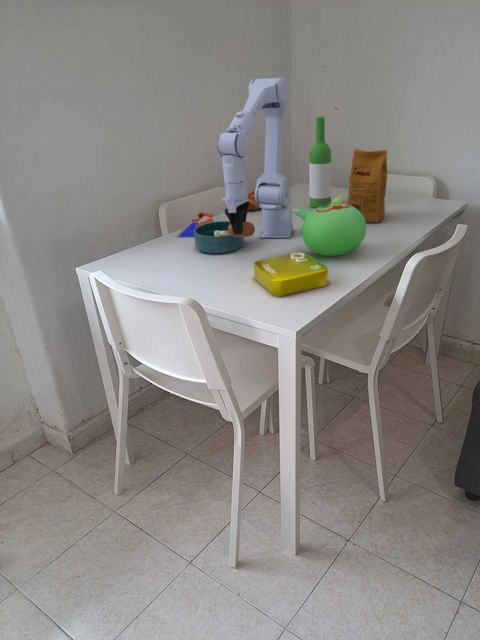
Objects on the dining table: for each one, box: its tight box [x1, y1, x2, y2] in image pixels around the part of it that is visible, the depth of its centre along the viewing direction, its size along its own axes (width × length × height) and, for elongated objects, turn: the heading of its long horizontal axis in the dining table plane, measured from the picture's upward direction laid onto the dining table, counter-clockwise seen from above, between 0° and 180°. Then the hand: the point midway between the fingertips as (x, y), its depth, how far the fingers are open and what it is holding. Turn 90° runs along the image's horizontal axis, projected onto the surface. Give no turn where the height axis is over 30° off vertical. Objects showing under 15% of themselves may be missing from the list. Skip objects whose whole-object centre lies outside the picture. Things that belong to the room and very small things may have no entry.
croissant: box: [247, 189, 262, 211], centre depth 187 cm, size 21×10×8 cm, turn 141°
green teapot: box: [292, 194, 367, 257], centre depth 137 cm, size 18×17×15 cm
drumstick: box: [214, 221, 256, 238], centre depth 138 cm, size 12×4×4 cm, turn 81°
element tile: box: [253, 251, 329, 297], centre depth 125 cm, size 15×15×5 cm
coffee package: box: [346, 148, 388, 224], centre depth 161 cm, size 10×12×22 cm
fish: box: [177, 210, 214, 238], centre depth 166 cm, size 13×5×9 cm
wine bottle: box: [308, 116, 332, 209], centre depth 176 cm, size 8×8×30 cm
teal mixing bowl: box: [194, 220, 245, 255], centre depth 151 cm, size 15×15×6 cm
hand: (239, 231), depth 138 cm, fingers closed on drumstick, 4 cm apart
